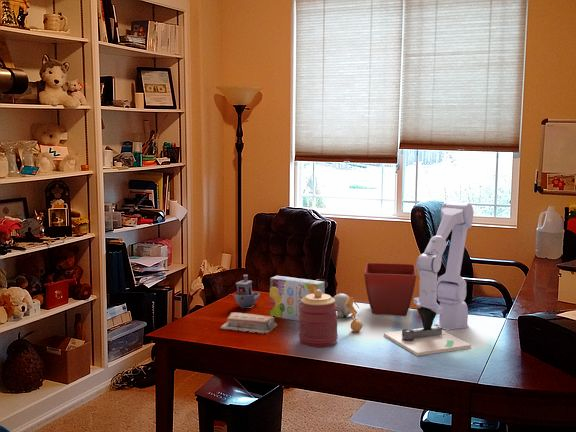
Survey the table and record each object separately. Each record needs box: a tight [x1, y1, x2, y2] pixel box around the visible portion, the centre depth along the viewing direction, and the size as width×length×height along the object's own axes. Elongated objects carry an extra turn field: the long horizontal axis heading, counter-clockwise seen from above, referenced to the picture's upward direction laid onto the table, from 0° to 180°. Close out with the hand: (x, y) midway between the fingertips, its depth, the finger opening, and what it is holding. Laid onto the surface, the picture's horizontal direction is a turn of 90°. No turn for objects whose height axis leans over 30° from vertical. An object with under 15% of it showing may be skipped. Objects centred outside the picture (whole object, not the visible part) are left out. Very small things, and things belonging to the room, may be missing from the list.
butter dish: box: [220, 312, 278, 335], centre depth 230 cm, size 18×5×10 cm
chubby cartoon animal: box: [333, 292, 352, 319], centre depth 244 cm, size 7×12×8 cm, turn 57°
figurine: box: [345, 296, 363, 333], centre depth 225 cm, size 8×6×12 cm
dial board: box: [383, 326, 472, 357], centre depth 213 cm, size 20×21×1 cm
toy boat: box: [233, 274, 261, 309], centre depth 256 cm, size 15×8×13 cm, turn 158°
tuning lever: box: [401, 326, 443, 341], centre depth 214 cm, size 14×4×3 cm, turn 111°
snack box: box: [269, 275, 326, 322], centre depth 240 cm, size 21×6×15 cm, turn 58°
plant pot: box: [363, 262, 417, 317], centre depth 249 cm, size 19×19×17 cm
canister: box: [298, 289, 339, 348], centre depth 213 cm, size 13×13×18 cm
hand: (427, 329), depth 217 cm, fingers closed
